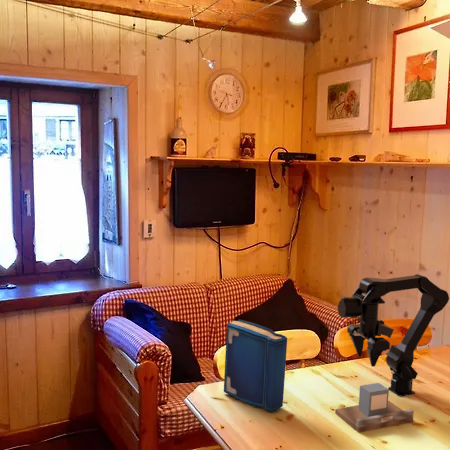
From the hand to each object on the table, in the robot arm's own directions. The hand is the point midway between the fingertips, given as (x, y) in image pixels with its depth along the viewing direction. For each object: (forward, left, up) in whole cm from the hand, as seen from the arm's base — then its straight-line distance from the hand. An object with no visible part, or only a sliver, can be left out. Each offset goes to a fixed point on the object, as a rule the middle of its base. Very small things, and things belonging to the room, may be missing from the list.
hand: (366, 361), depth 175 cm
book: (+38, -7, -12) cm, 41 cm away
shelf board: (+7, +14, -12) cm, 20 cm away
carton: (+7, +14, -10) cm, 19 cm away
